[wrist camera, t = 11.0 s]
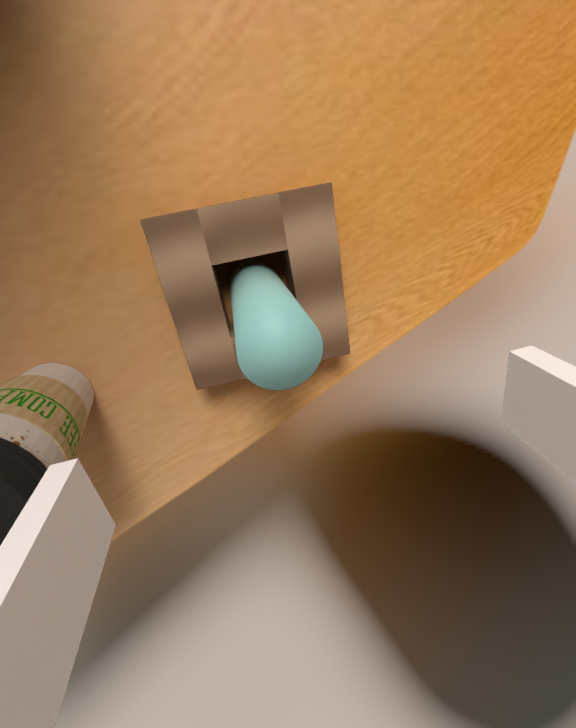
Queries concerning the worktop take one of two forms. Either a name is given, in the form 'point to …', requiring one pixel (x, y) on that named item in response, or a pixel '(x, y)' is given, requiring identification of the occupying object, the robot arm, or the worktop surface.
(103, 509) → the robot arm
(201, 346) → the socket block
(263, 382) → the peg
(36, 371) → the coffee cup
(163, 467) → the worktop surface
